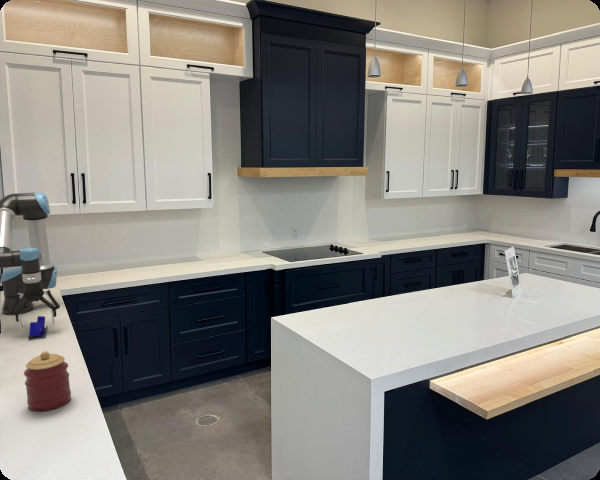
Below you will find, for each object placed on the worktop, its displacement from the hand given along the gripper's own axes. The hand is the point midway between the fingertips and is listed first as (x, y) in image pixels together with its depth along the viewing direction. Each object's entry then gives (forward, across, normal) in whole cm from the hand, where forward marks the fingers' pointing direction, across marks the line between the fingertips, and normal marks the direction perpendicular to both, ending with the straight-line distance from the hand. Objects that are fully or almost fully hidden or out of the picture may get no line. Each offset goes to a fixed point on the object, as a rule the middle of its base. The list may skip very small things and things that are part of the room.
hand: (37, 326), depth 233 cm
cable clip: (+3, 0, 0) cm, 3 cm away
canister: (+4, +10, -79) cm, 80 cm away
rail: (+4, 0, 0) cm, 4 cm away
